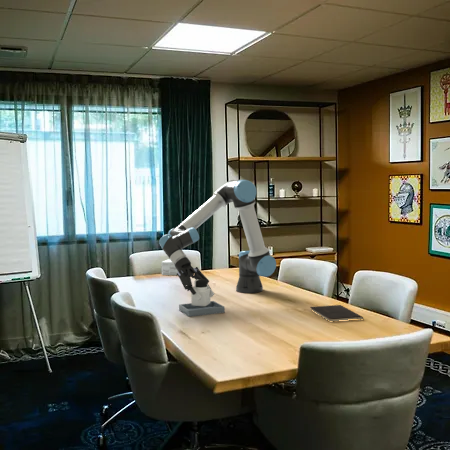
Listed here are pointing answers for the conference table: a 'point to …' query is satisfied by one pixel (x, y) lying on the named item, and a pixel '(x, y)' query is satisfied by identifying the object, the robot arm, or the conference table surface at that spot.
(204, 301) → the medicine bottle
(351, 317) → the hardcover book
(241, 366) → the conference table surface
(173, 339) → the conference table surface
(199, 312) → the tray
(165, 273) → the supplement box
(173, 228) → the robot arm
